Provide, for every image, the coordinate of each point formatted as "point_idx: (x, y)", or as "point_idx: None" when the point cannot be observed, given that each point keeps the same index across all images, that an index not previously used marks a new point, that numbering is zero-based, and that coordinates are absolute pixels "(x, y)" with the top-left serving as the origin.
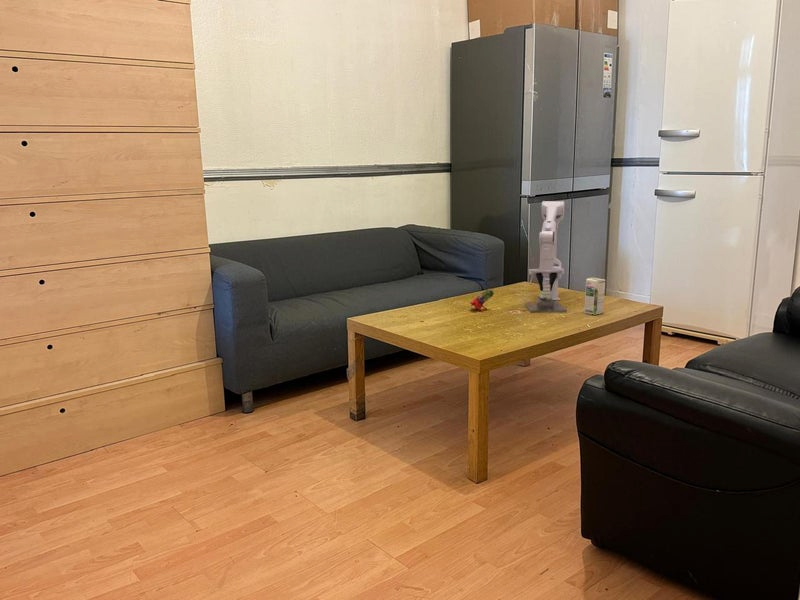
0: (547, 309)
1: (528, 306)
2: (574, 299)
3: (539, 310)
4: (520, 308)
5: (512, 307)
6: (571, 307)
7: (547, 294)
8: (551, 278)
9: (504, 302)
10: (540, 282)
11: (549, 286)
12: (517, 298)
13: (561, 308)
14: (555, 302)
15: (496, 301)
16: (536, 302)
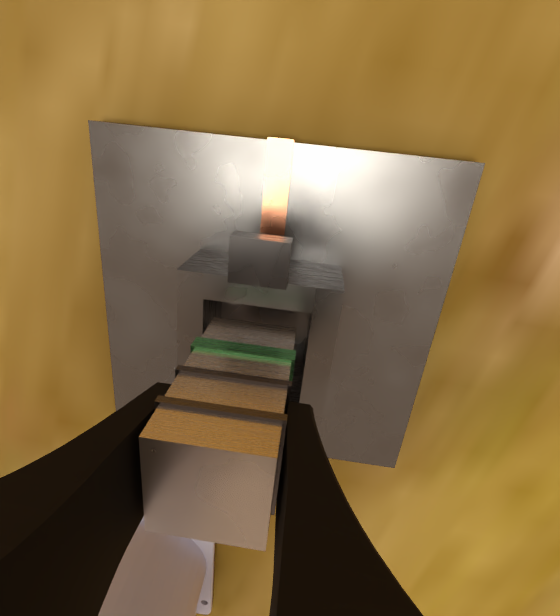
0: (291, 167)
1: (426, 338)
2: None
3: (388, 153)
4: (485, 354)
5: (536, 399)
6: (41, 300)
7: (230, 346)
8: (24, 551)
9: (507, 540)
10: (339, 511)
11: (164, 420)
12: None
13: (135, 195)
14: None
15: (548, 574)
16: None
